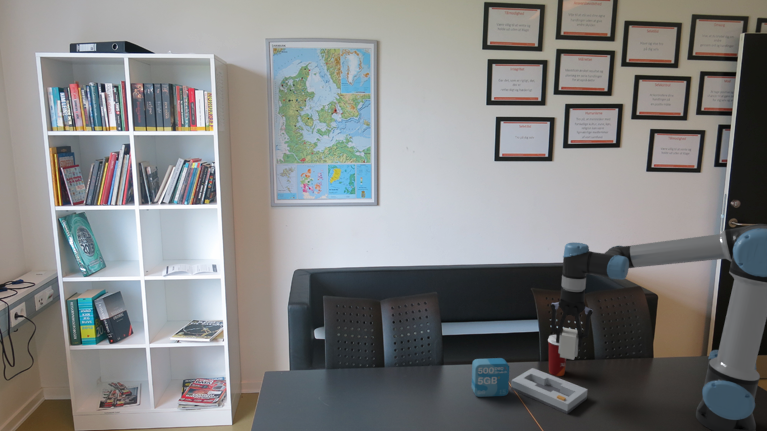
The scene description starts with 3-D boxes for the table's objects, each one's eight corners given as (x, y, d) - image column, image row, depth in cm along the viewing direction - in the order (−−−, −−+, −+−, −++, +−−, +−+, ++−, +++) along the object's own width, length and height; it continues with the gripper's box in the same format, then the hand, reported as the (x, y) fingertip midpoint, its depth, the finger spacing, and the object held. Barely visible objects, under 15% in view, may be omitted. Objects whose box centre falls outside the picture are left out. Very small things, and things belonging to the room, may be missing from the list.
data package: (474, 397, 162) (475, 364, 161) (471, 390, 167) (472, 358, 165) (508, 396, 163) (509, 363, 161) (504, 389, 168) (505, 357, 166)
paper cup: (568, 378, 176) (571, 343, 174) (547, 376, 177) (549, 341, 175) (565, 368, 183) (567, 334, 181) (544, 366, 185) (546, 333, 183)
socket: (586, 398, 161) (587, 387, 161) (567, 414, 152) (567, 402, 152) (532, 376, 177) (532, 366, 176) (511, 389, 168) (511, 378, 167)
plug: (574, 359, 158) (576, 337, 157) (559, 357, 160) (561, 334, 159) (576, 348, 167) (578, 327, 166) (562, 345, 169) (564, 324, 167)
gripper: (602, 289, 158) (596, 354, 161) (547, 281, 165) (543, 344, 169) (601, 295, 151) (595, 363, 155) (544, 287, 159) (539, 352, 162)
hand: (567, 353), depth 162 cm, fingers closed on plug, 4 cm apart
